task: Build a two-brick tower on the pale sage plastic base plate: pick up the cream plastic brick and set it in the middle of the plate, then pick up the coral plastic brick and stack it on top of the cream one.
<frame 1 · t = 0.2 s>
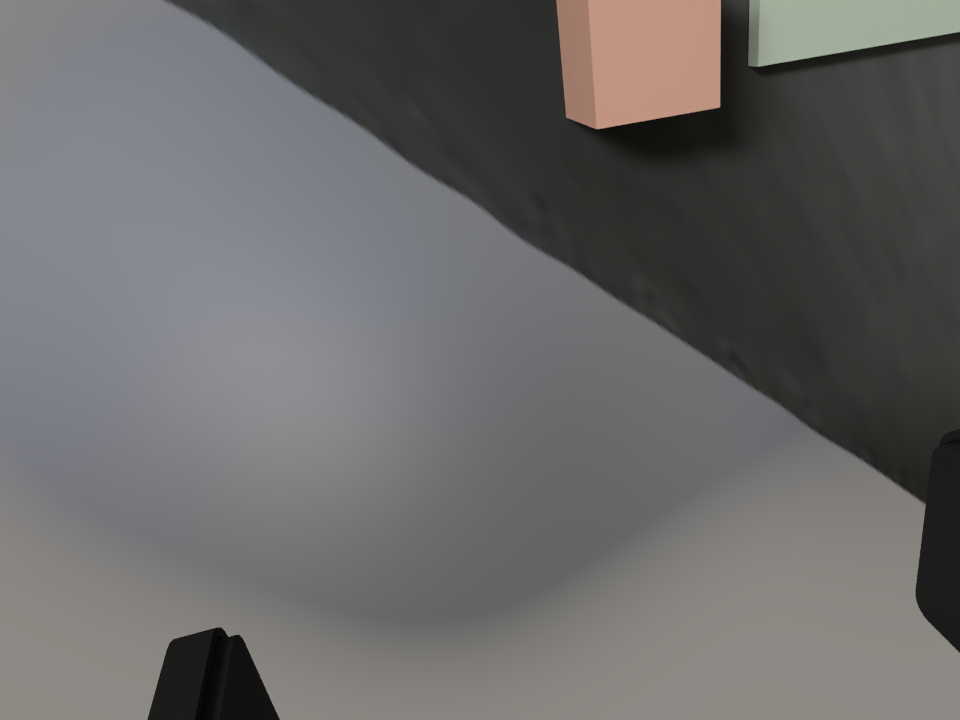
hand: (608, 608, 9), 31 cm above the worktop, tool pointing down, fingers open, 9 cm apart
coral brick: (617, 45, 36), on the worktop
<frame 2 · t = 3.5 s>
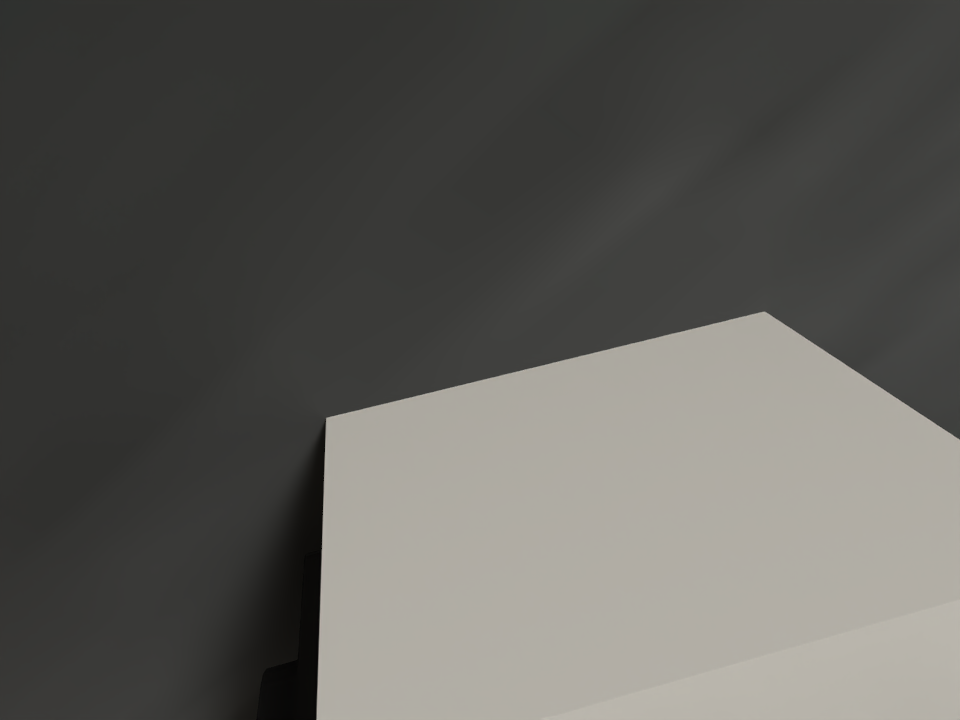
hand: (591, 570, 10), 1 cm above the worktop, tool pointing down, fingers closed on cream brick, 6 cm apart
cream brick: (577, 538, 11), on the worktop, touching gripper
when the fingers open (3 cm above the worktop, at t = 9.3 s): cream brick drops 1 cm, resting on base plate.
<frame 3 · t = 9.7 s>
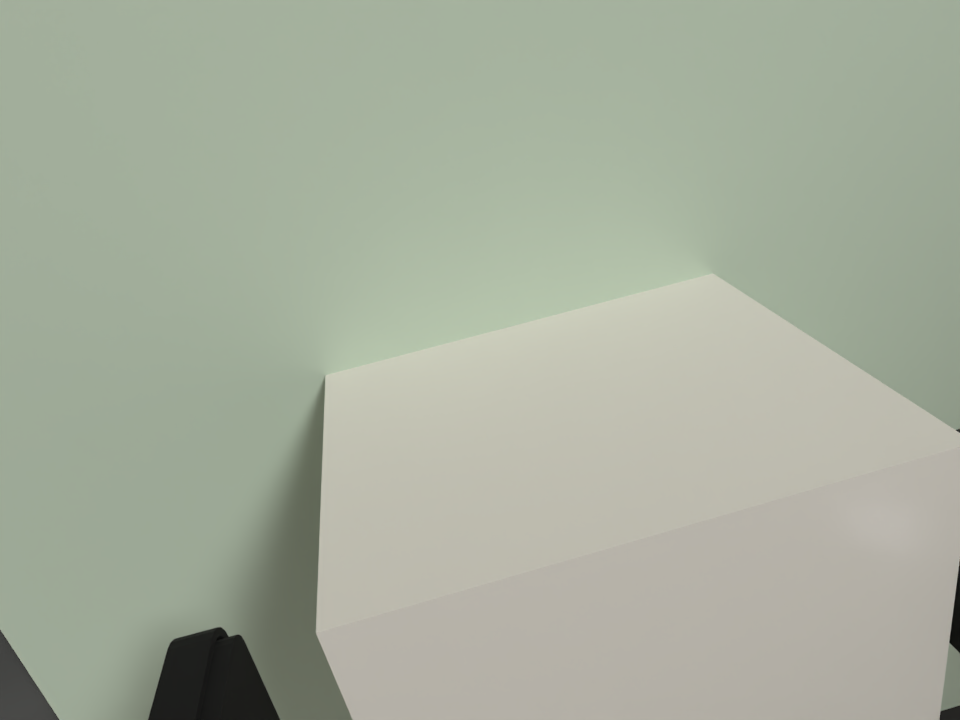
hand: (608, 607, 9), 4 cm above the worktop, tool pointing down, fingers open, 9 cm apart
base plate: (537, 455, 13), on the worktop
cream brick: (554, 484, 12), point 1 cm above the worktop, touching base plate
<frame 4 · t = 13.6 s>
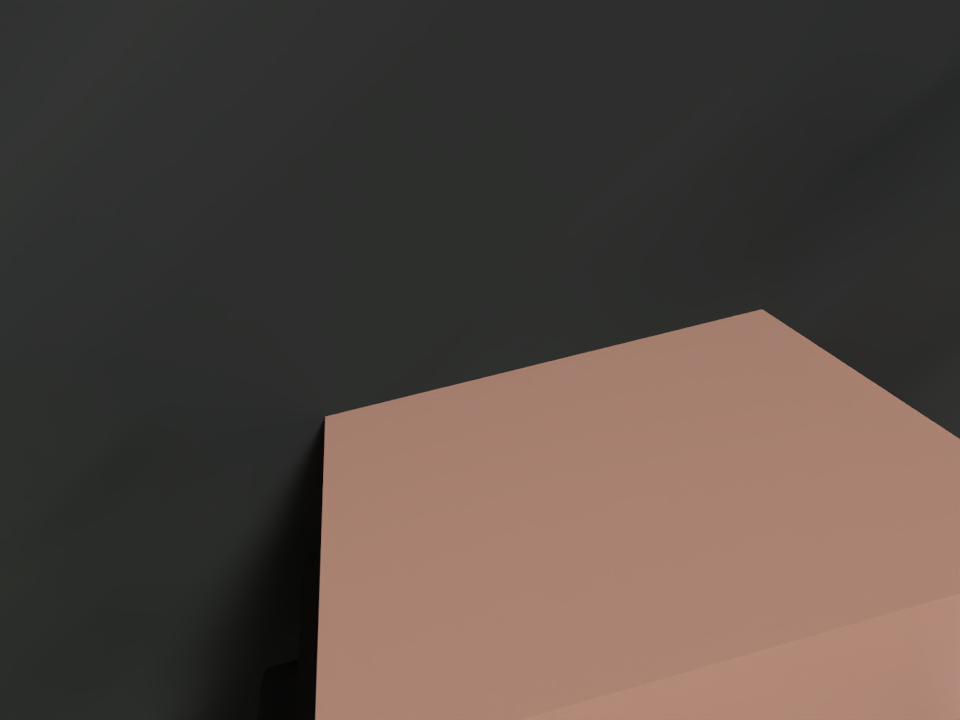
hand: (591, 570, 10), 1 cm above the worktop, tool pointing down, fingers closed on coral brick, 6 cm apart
coral brick: (576, 536, 11), on the worktop, touching gripper
when the fingers open (8 cm above the worktop, at t = 19.0 s): coral brick drops 1 cm, resting on cream brick.
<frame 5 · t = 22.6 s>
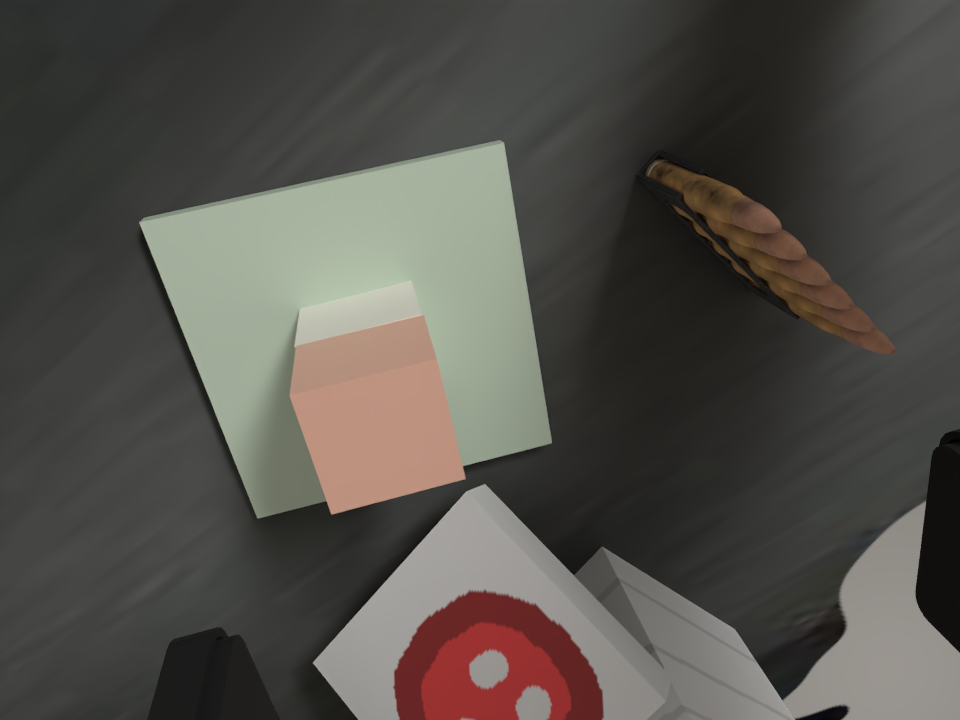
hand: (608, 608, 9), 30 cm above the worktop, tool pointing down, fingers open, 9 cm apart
pizza boxes: (548, 629, 52), on the worktop
coral brick: (376, 386, 34), point 6 cm above the worktop, touching cream brick
base plate: (369, 339, 40), on the worktop
ammunition clip: (706, 223, 41), on the worktop
cream brick: (371, 345, 39), point 1 cm above the worktop, touching base plate, coral brick
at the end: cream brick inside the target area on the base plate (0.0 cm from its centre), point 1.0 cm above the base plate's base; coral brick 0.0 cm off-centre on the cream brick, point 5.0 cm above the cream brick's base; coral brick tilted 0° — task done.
